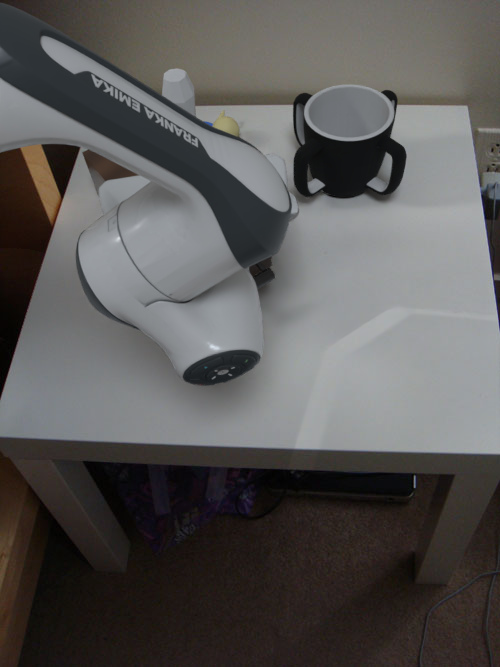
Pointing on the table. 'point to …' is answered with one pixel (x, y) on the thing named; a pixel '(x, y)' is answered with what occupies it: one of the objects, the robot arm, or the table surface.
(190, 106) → the faceted bottle
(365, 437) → the table surface
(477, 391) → the table surface
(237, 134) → the toy figure
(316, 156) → the mug
